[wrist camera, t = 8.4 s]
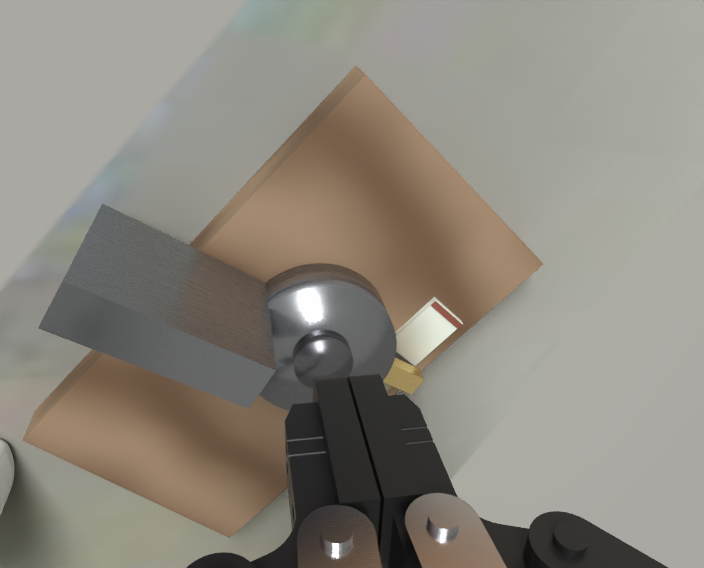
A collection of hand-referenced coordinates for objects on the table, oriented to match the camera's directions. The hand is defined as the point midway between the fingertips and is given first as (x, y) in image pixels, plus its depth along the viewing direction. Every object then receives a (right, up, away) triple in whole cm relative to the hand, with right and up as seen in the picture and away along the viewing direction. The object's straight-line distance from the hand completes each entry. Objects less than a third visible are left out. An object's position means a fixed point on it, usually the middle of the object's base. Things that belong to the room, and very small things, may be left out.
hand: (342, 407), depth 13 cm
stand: (-3, +1, +15) cm, 16 cm away
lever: (-3, +2, +12) cm, 12 cm away
